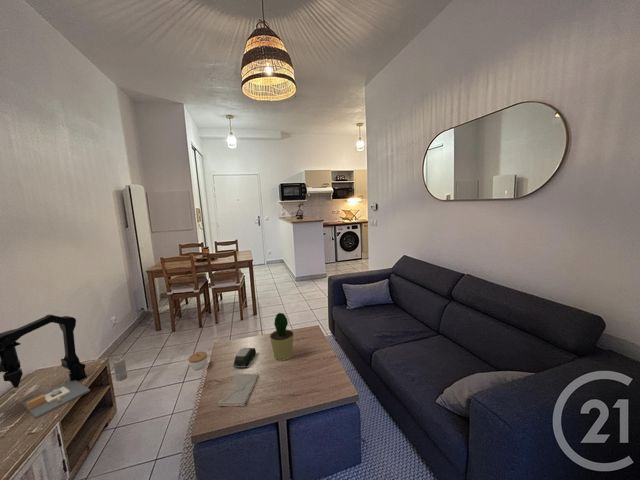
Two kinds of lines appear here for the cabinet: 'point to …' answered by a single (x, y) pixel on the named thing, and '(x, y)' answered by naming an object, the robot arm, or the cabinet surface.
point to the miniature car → (244, 357)
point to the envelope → (240, 389)
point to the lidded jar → (198, 360)
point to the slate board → (42, 409)
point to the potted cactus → (281, 338)
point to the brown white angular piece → (46, 398)
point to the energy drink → (120, 369)
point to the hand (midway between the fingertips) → (15, 384)
